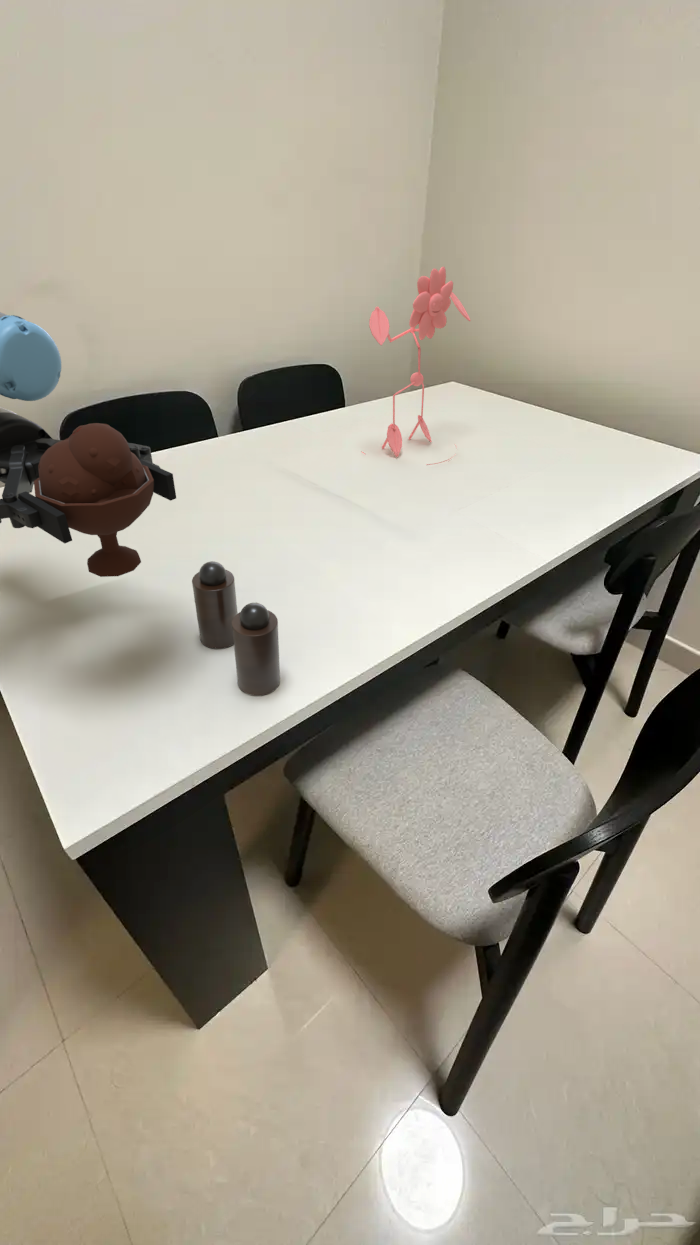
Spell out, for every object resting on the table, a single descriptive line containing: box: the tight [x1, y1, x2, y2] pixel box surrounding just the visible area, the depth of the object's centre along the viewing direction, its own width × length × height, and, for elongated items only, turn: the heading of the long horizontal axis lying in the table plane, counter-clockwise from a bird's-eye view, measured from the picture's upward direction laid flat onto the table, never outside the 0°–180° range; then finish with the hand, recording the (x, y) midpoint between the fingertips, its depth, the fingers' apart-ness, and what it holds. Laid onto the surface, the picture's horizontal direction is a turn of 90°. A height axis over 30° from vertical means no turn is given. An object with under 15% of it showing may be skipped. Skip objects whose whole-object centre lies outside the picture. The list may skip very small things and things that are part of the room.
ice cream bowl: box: [33, 422, 154, 578], centre depth 58 cm, size 11×11×15 cm
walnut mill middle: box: [191, 560, 239, 650], centre depth 72 cm, size 5×5×11 cm
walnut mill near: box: [232, 602, 281, 697], centre depth 66 cm, size 5×5×11 cm
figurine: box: [360, 266, 472, 466], centre depth 117 cm, size 15×26×35 cm, turn 134°
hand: (121, 506), depth 55 cm, fingers closed on ice cream bowl, 11 cm apart
